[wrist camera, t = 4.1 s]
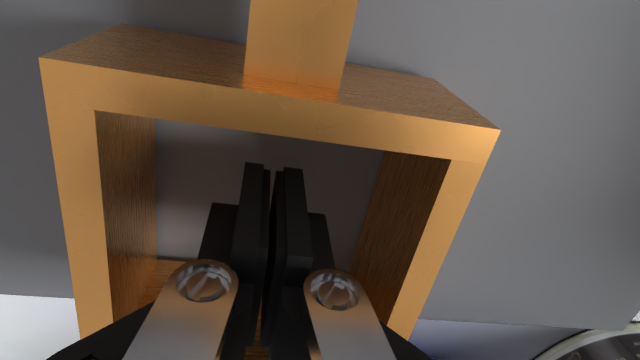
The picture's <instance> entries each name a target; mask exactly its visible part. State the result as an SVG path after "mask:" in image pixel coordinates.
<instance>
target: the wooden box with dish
mask: <svg viewBox="0 0 640 360" xmlns="http://www.w3.org/2000/svg"><path fill="white" fill-rule="evenodd" d="M357 4H358V0H251V3H250V13H249V23H248V34H247V44H246V45H243V44H238V43H232V42H226V41H221V40H215V39H209V38H204V37H198V36H192V35H187V34H181V33H176V32H170V31H164V30H159V29H153V28H147V27H142V26H136V25H130V24H125V23H120V24H118V25H115V26H113V27H110V28H108V29H106V30H103V31H101V32H98V33H96V34H93V35H91V36H89V37H86V38H84V39H81V40H79V41H76V42H74V43H72V44H69V45H67V46H64V47H62V48H60V49H57V50H55V51H52V52H50V53H47V54H45V55H43V56H40V57H38V58H39V65H40V71H41V78H42V85H43V91H44V98H45V105H46V112H47V118H48V125H49V132H50V138H51V145H52V152H53V158H54V165H55V172H56V178H57V185H58V192H59V198H60V205H61V212H62V218H63V225H64V232H65V238H66V245H67V252H68V258H69V265H70V272H71V278H72V285H73V292H74V298H75V305H76V312H77V318H78V325H79V332H80V338H81V339H83V338H85V337H87V336H89V335H91V334H93V333H94V332H96V331H98V330H100V329H102V328H104V327H106V326H108V325H110V324H112V323H113V322H115V321H117V320H119V319H121V318H123V317H125V316H127V315H129V314H131V313H132V312H134V311H136V310H138V309H140V308H142V307H144V306H146V305H148V304H150V303H151V302H153V301H155V300H156V299H157V298H158V296H159V294H160V292H161V290H162V289H163V287H164V285H165V283H166V282H167V280H168V278H169V276H170V275H171V274H172V273H173V271H174V270H175V269H176V268H178V267H179V266H181V265H182V264H184V263H187V262H182V261H169V260H157V223H156V130H155V118H156V119H163V120H170V121H177V122H185V123H192V124H199V125H206V126H213V127H221V128H228V129H235V130H242V131H249V132H257V133H264V134H271V135H278V136H285V137H293V138H300V139H307V140H314V141H321V142H329V143H336V144H343V145H350V146H357V147H365V148H372V149H379V150H385V152H384V155H383V159H382V162H381V166H380V169H379V172H378V176H377V179H376V182H375V186H374V189H373V192H372V196H371V199H370V202H369V206H368V209H367V213H366V216H365V219H364V223H363V226H362V229H361V233H360V236H359V239H358V243H357V246H356V250H355V253H354V256H353V260H352V263H351V266H350V270H349V273H348V274H349V275H351V276H353V277H354V278H355V279H356V280H357V281H359V282H360V284H361V285H362V287H363V288H364V290H365V292H366V294H367V296H368V298H369V301H370V303H371V305H372V307H373V309H374V312H375V314H376V316H377V318H378V320H379V321H381V322H382V323H384V324H385V325H386V326H388V327H389V328H390V329H392V330H393V331H395V332H396V333H397V334H399V335H400V336H401V337H403V338H404V339H406V340H407V341H408V340H409V338H410V335H411V333H412V331H413V329H414V326H415V324H416V322H417V319H418V317H419V315H420V313H421V310H422V308H423V306H424V304H425V301H426V299H427V297H428V295H429V292H430V290H431V288H432V285H433V283H434V281H435V279H436V276H437V274H438V272H439V270H440V267H441V265H442V263H443V261H444V258H445V256H446V254H447V252H448V249H449V247H450V245H451V242H452V240H453V238H454V236H455V233H456V231H457V229H458V227H459V224H460V222H461V220H462V218H463V215H464V213H465V211H466V209H467V206H468V204H469V202H470V199H471V197H472V195H473V193H474V190H475V188H476V186H477V184H478V181H479V179H480V177H481V175H482V172H483V170H484V168H485V165H486V163H487V161H488V159H489V156H490V154H491V152H492V150H493V147H494V145H495V143H496V141H497V138H498V136H499V134H500V132H501V129H499V128H498V127H497V126H495V125H494V124H493V123H491V122H490V121H489V120H487V119H486V118H485V117H484V116H482V115H481V114H480V113H478V112H477V111H476V110H474V109H473V108H472V107H470V106H469V105H468V104H466V103H465V102H464V101H463V100H461V99H460V98H459V97H457V96H456V95H455V94H453V93H452V92H451V91H449V90H448V89H447V88H446V87H444V86H443V85H442V84H440V83H439V82H438V81H436V80H435V79H434V78H429V77H424V76H418V75H412V74H407V73H401V72H396V71H390V70H384V69H379V68H373V67H367V66H362V65H356V64H350V63H345V59H346V54H347V50H348V45H349V41H350V36H351V31H352V27H353V22H354V18H355V13H356V9H357ZM261 304H262V297H261V303H260V309H259V315H258V321H257V327H256V334H255V340H254V346H253V348H246V352H245V358H244V360H267V352H268V348H260V328H261Z"/></svg>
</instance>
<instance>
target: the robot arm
mask: <svg viewBox="0 0 640 360" xmlns="http://www.w3.org/2000/svg"><path fill="white" fill-rule="evenodd" d="M270 176H271V170H267V169H264V164H258V163H250V162H245V167H244V174H243V180H242V187H241V193H240V200H239V205H234V204H225V203H215V202H213V203H212V205H211V208H210V212H209V216H208V220H207V223H206V227H205V231H204V235H203V239H202V242H201V246H200V250H199V254H198V257H197V260H193V261H190V262H187V263H184V264H182V265H181V266H179V267H178V268H176V269H175V270H174V271H173V273H172V274H171V275H170V276H169V278H168V280H167V282H166V283H165V285H164V287H163V289H162V290H161V292H160V294H159V296H158V298H157V299H156V300H155V301H153V302H151V303H150V304H148V305H146V306H144V307H142V308H140V309H138V310H136V311H134V312H132V313H131V314H129V315H127V316H125V317H123V318H121V319H119V320H117V321H115V322H113V323H112V324H110V325H108V326H106V327H104V328H102V329H100V330H98V331H96V332H94V333H93V334H91V335H89V336H87V337H85V338H83V339H81V340H79V341H77V342H76V343H74V344H72V345H70V346H68V347H66V348H64V349H62V350H60V351H58V352H57V353H55V354H54V355H52V356H51V357H49V358H48V359H46V360H244V358H245V352H246V348H253V346H254V340H255V334H256V327H257V321H258V315H259V309H260V303H261V297H262V304H261V328H260V348H268V352H267V360H433V359H432V358H430V357H429V356H428V355H426V354H425V353H423V352H422V351H421V350H419V349H418V348H417V347H415V346H414V345H412V344H411V343H410V342H408V341H407V340H406V339H404V338H403V337H401V336H400V335H399V334H397V333H396V332H395V331H393V330H392V329H390V328H389V327H388V326H386V325H385V324H384V323H382V322H381V321H379V320H378V318H377V316H376V314H375V312H374V309H373V307H372V305H371V303H370V301H369V298H368V296H367V294H366V292H365V290H364V288H363V287H362V285H361V284H360V282H359V281H357V280H356V279H355V278H354V277H353V276H351V275H349V274H347V273H345V272H342V271H339V270H336V268H335V263H334V258H333V253H332V247H331V242H330V237H329V232H328V227H327V221H326V217H325V215H324V214H320V213H311V212H308V209H307V201H306V193H305V185H304V177H303V170H302V169H298V168H290V167H284V168H283V171H276V174H275V181H274V187H273V193H272V200H271V206H270Z"/></svg>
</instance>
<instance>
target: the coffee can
mask: <svg viewBox="0 0 640 360" xmlns="http://www.w3.org/2000/svg"><path fill="white" fill-rule="evenodd" d="M534 360H640V323H629V324H628V325H627V326H626V328H625V329H624V330H623V331H614V330H597V329H592V330H588V331H585V332H582V333H580V334H577V335H575V336H572V337H570V338H568V339H566V340H564V341H562V342H560V343H558V344H556V345H555V346H553V347H551V348H550V349H548V350H547V351H546V352H544V353H543V354H541V355H539V356H538V357H537V358H536V359H534Z"/></svg>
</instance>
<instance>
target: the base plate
mask: <svg viewBox="0 0 640 360" xmlns="http://www.w3.org/2000/svg"><path fill="white" fill-rule="evenodd" d="M250 3H251V0H0V294H7V295H24V296H41V297H58V298H74V292H73V285H72V278H71V272H70V265H69V258H68V252H67V245H66V238H65V232H64V225H63V218H62V212H61V205H60V198H59V192H58V185H57V178H56V172H55V165H54V158H53V152H52V145H51V138H50V132H49V125H48V118H47V112H46V105H45V98H44V91H43V85H42V78H41V71H40V65H39V58H38V57H40V56H43V55H45V54H47V53H50V52H52V51H55V50H57V49H60V48H62V47H64V46H67V45H69V44H72V43H74V42H76V41H79V40H81V39H84V38H86V37H89V36H91V35H93V34H96V33H98V32H101V31H103V30H106V29H108V28H110V27H113V26H115V25H118V24H120V23H125V24H130V25H136V26H142V27H147V28H153V29H159V30H164V31H170V32H176V33H181V34H187V35H192V36H198V37H204V38H209V39H215V40H221V41H226V42H232V43H238V44H243V45H246V44H247V34H248V23H249V13H250ZM345 63H350V64H356V65H362V66H367V67H373V68H379V69H384V70H390V71H396V72H401V73H407V74H412V75H418V76H424V77H429V78H434V79H435V80H436V81H438V82H439V83H440V84H442V85H443V86H444V87H446V88H447V89H448V90H449V91H451V92H452V93H453V94H455V95H456V96H457V97H459V98H460V99H461V100H463V101H464V102H465V103H466V104H468V105H469V106H470V107H472V108H473V109H474V110H476V111H477V112H478V113H480V114H481V115H482V116H484V117H485V118H486V119H487V120H489V121H490V122H491V123H493V124H494V125H495V126H497V127H498V128H499V129H501V132H500V134H499V136H498V138H497V141H496V143H495V145H494V147H493V150H492V152H491V154H490V156H489V159H488V161H487V163H486V165H485V168H484V170H483V172H482V175H481V177H480V179H479V181H478V184H477V186H476V188H475V190H474V193H473V195H472V197H471V199H470V202H469V204H468V206H467V209H466V211H465V213H464V215H463V218H462V220H461V222H460V224H459V227H458V229H457V231H456V233H455V236H454V238H453V240H452V242H451V245H450V247H449V249H448V252H447V254H446V256H445V258H444V261H443V263H442V265H441V267H440V270H439V272H438V274H437V276H436V279H435V281H434V283H433V285H432V288H431V290H430V292H429V295H428V297H427V299H426V301H425V304H424V306H423V308H422V310H421V313H420V315H419V317H418V319H429V320H446V321H463V322H479V323H496V324H513V325H530V326H547V327H564V328H581V329H597V330H614V331H623V330H624V329H625V328H626V326H627V325H628V324H629V323H630V321H631V320H632V319H633V318H634V317H635V315H636V314H637V313H638V312H639V310H640V0H358V4H357V9H356V13H355V18H354V22H353V27H352V31H351V36H350V41H349V45H348V50H347V54H346V59H345ZM155 130H156V223H157V260H169V261H182V262H190V261H193V260H197V257H198V254H199V250H200V246H201V242H202V239H203V235H204V231H205V227H206V223H207V220H208V216H209V212H210V208H211V205H212V203H213V202H215V203H225V204H234V205H239V200H240V193H241V187H242V180H243V174H244V167H245V162H250V163H258V164H264V169H267V170H271V176H270V206H271V200H272V193H273V187H274V181H275V174H276V171H283V168H284V167H290V168H298V169H302V170H303V177H304V185H305V193H306V201H307V209H308V212H311V213H320V214H324V215H325V217H326V221H327V227H328V232H329V237H330V242H331V247H332V253H333V258H334V263H335V268H336V270H339V271H342V272H345V273H347V274H348V273H349V270H350V266H351V263H352V260H353V256H354V253H355V250H356V246H357V243H358V239H359V236H360V233H361V229H362V226H363V223H364V219H365V216H366V213H367V209H368V206H369V202H370V199H371V196H372V192H373V189H374V186H375V182H376V179H377V176H378V172H379V169H380V166H381V162H382V159H383V155H384V152H385V150H379V149H372V148H365V147H357V146H350V145H343V144H336V143H329V142H321V141H314V140H307V139H300V138H293V137H285V136H278V135H271V134H264V133H257V132H249V131H242V130H235V129H228V128H221V127H213V126H206V125H199V124H192V123H185V122H177V121H170V120H163V119H156V118H155Z"/></svg>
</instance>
